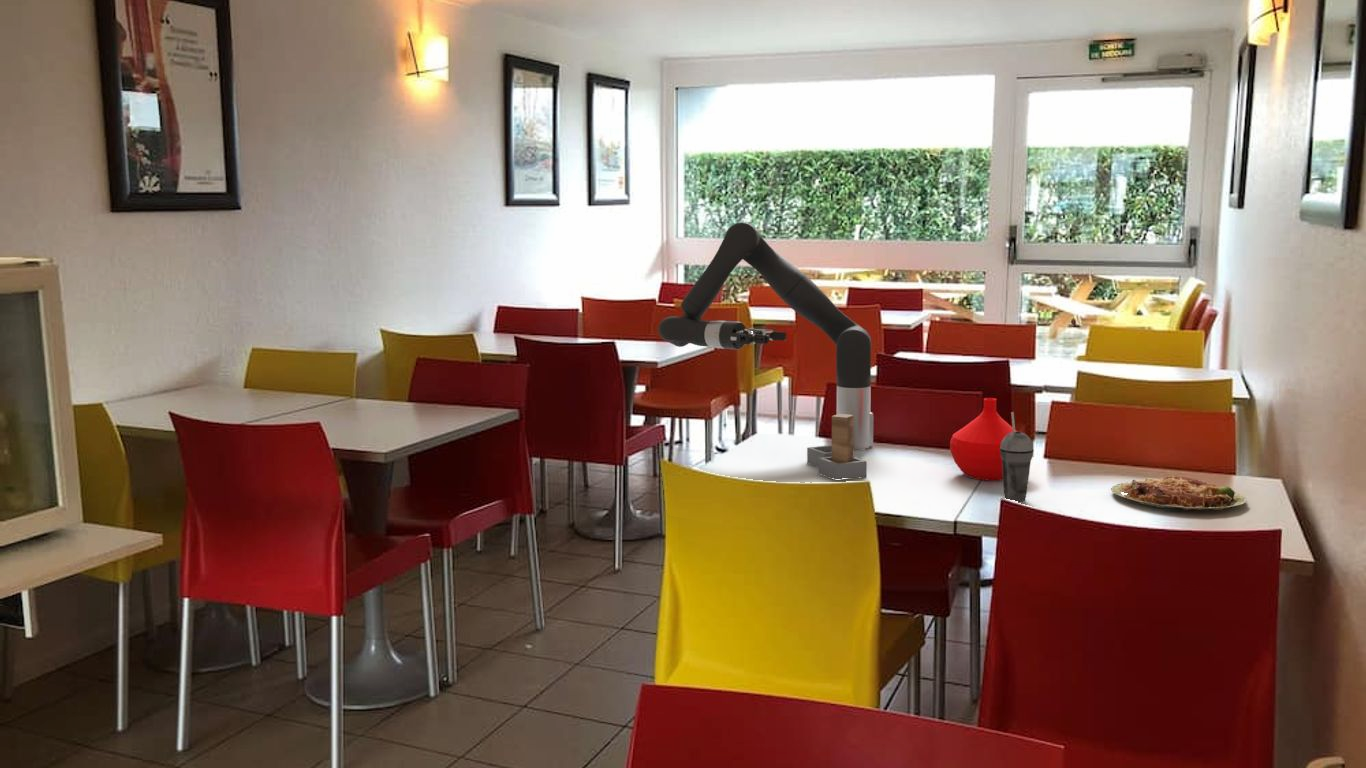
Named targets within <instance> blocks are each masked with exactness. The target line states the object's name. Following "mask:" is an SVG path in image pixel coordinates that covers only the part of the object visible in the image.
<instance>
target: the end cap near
mask: <svg viewBox="0 0 1366 768" xmlns="http://www.w3.org/2000/svg"><path fill="white" fill-rule="evenodd" d="M831 458H832V456H831V457H823V458H819V467H818V471H817V472H818V473H819V475H820V474H822V475H821V476H823V475H825V476H824V477H826V476H827V477H826V478H828V477H830V478H829V479H831V478H834V479H842V478H856V479H860V478H859V477H863V478H867V473H868V472H867V470H868V468H867V467H868V466H867V463H868V462H867V460H864V459H862V458H859V457H856V456H853V462H847V463H839V464H838V463H836V462H833V461H831ZM835 481H836V482H838V481H841V480H835Z"/></svg>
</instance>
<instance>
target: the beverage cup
mask: <svg viewBox="0 0 1366 768" xmlns="http://www.w3.org/2000/svg"><path fill="white" fill-rule="evenodd" d="M1014 413H1015V412H1014V411H1012V412H1010V414H1011V415H1010V416H1011V427H1013V432H1011V433H1009V434H1007V435H1006V436H1005V437H1004V438H1003V440H1002V442H1001V447H1000V453H1001V458H1002V471H1003V480H1002V486H1003V496H1004V498H1006V499H1010V500H1015V501H1018V502H1022V503H1025V502H1026V497H1027V493H1028V485H1029V479H1030V478H1029V477H1030V469H1031V461H1032V458H1033V454H1034V445H1033V442H1032V439H1031V438H1030V437H1029V435H1027V434H1026V433H1024V432H1022V431H1018V432H1015V430H1016V426H1015V425H1016V423H1015V414H1014Z"/></svg>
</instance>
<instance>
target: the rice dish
mask: <svg viewBox="0 0 1366 768" xmlns="http://www.w3.org/2000/svg"><path fill="white" fill-rule="evenodd" d="M1110 490H1111V492H1112V494H1115V495H1117V496H1120V497H1122V498H1125V499H1128V500H1130V501H1132V502H1136V503H1139V504H1141V505H1146V506H1151V507H1152V506H1153V507H1157V508H1159V509H1161V508H1166V509H1169V508H1170V509H1171V508H1179V509H1181V510H1185V511H1187V510H1192V509H1193V510H1196V511H1198V510H1199V511H1200V510H1209V511H1222V510H1225V509H1228V508H1229V509H1230V508H1231V507H1237V506H1240V505H1243V504H1245V503H1247V499H1246V497H1244V496H1243V495H1241V494H1240V493H1237V492H1235V490H1233V488H1232V487H1230V486H1226V485H1225V486H1219V487H1218V486H1217V485H1216V484H1210V483H1209V484H1208V483H1207V482H1206V481H1205V480H1199V479H1193V478H1189V477H1185V476H1177V475H1167V476H1165V477H1164V478H1163V477H1161V478H1153V477H1152V478H1151V477H1145V480H1140V479H1139V480H1136V479H1133V480H1132V481H1130V482H1124V483H1122V482H1121V483H1117V484H1116V485H1113V486H1112V487H1111V488H1110ZM1121 492H1124V493H1128V494H1127V495H1124V496H1122V494H1121Z"/></svg>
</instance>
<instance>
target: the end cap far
mask: <svg viewBox="0 0 1366 768" xmlns="http://www.w3.org/2000/svg"><path fill="white" fill-rule="evenodd" d="M806 453H807V454H806V456H807V457H806V462H807V464H809V463H810V465H813V466H815V467H817V468H819V458H823V457H831V456H832V444H829V445H828V444H827V445H826V444H825V445H817V446H810V447H809V446H808V447H806Z"/></svg>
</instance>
